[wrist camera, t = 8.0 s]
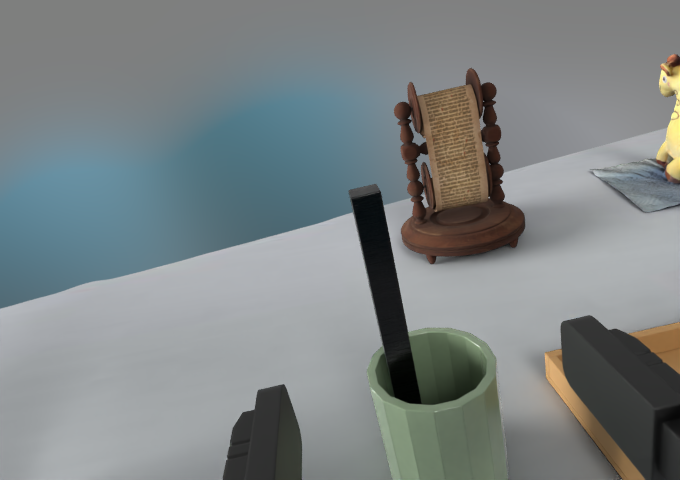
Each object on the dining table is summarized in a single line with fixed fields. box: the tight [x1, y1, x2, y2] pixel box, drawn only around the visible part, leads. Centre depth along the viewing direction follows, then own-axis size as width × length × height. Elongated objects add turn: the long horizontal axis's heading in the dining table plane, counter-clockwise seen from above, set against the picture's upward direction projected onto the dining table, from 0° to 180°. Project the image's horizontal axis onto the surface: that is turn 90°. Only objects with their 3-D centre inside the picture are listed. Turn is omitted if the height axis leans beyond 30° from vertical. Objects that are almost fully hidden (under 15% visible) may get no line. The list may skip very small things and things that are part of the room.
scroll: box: [394, 68, 525, 264], centre depth 54 cm, size 15×15×20 cm
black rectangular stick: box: [349, 184, 422, 404], centre depth 25 cm, size 4×1×18 cm, turn 94°
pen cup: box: [367, 328, 508, 480], centre depth 27 cm, size 7×7×8 cm
